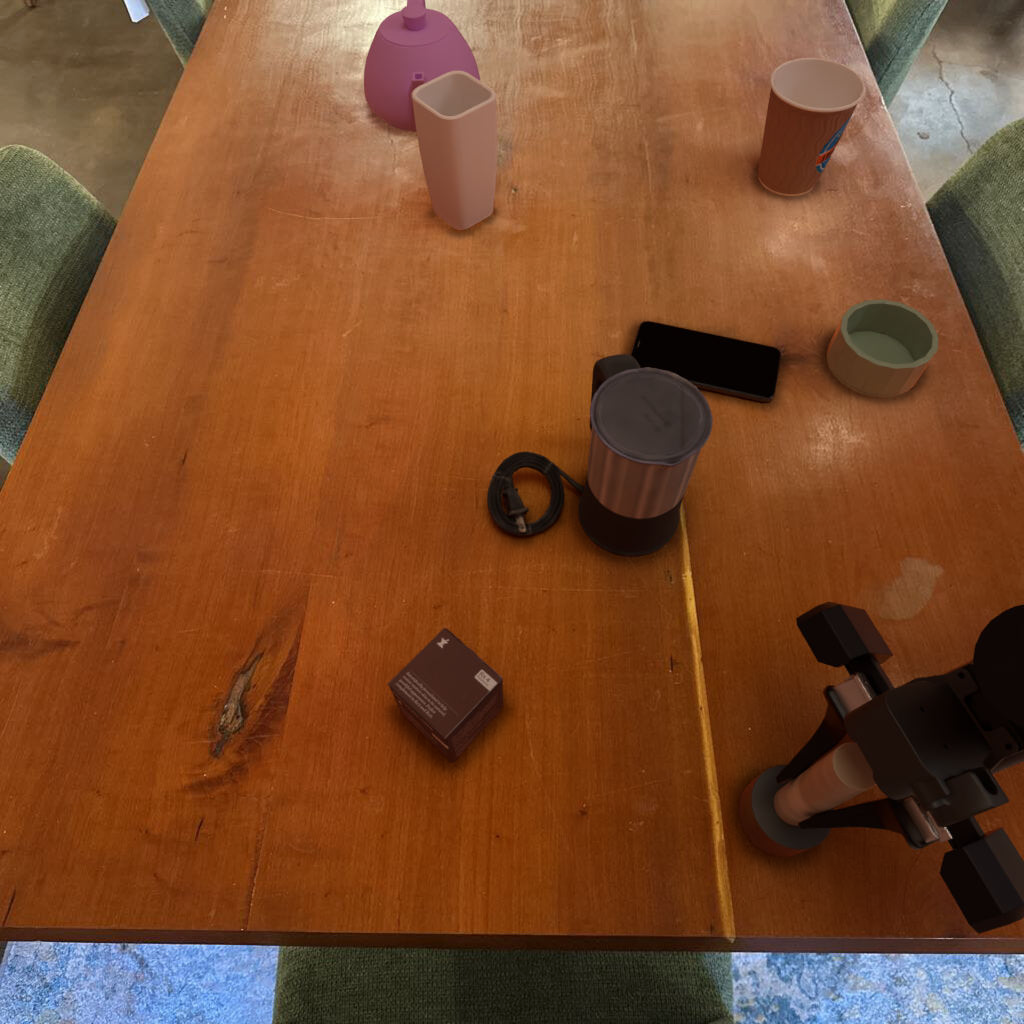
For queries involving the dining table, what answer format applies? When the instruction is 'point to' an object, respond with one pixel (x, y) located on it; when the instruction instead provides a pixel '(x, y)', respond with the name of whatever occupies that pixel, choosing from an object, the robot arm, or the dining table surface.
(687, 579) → the dining table surface
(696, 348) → the smartphone
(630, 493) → the milk frother
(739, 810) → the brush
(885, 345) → the pale green bowl
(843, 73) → the coffee cup
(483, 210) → the cup
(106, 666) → the dining table surface
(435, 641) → the box
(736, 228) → the dining table surface
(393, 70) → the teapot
